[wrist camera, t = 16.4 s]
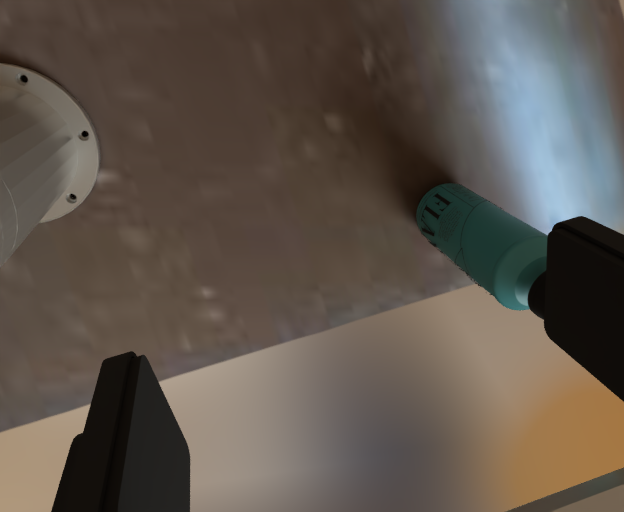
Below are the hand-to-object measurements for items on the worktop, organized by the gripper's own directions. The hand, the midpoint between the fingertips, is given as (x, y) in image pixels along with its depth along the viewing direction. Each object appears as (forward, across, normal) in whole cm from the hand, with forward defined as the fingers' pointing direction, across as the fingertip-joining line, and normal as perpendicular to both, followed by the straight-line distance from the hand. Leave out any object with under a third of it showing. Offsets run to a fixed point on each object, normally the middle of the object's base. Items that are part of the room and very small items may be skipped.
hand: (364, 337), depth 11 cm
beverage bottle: (+34, -18, +14) cm, 41 cm away
